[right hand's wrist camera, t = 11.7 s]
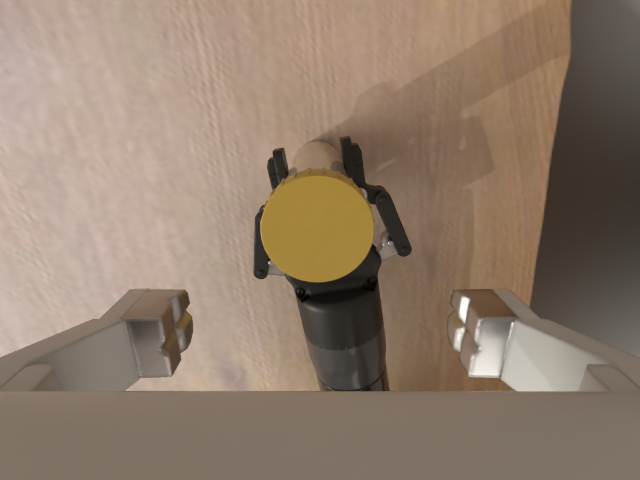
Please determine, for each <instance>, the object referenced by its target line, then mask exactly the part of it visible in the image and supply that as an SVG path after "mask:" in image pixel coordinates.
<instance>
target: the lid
mask: <svg viewBox="0 0 640 480" xmlns="http://www.w3.org/2000/svg"><path fill="white" fill-rule="evenodd" d="M263 210H264V211H263V215H262V218H261V221H260V223H261V239H262V242H263V246H264V248H265V250H266V253H267V254H268V256H269V258H270V259H271V260H272V261H273V263H274V264H275V265H276V266H277V267H278V268H279V269H281V270H282V271H283V272H285V273H286V274H288V275H290V276H292V277H294V278H296V279H299V280H303V281H308V282H327V281H332V280H335V279H339V278H341V277H343V276H345V275H347V274H349V273H350V272H352V271H353V270H354V269H356V268H357V267H358V266H359V265H360V264H361V263H362V261H363V260H364V259H365V257H366V256H367V254H368V252H369V250H370V248H371V246H372V242H373V238H374V222H375V221H374V218H373V215H372V212H371V205H370V203H369V202H368V200H366V199H365V197H364V193H363V191H362V189H361V188H358V187H357V185H356V184H355V183H354V182H353V180H352V178H350V179H349V178H347V177H346V176H344V175H342V174H340V171H337V172H335V171H332V170H328V169H325V167H323V169H319V168H315V169H311V167H309V168H308V169H307V170H302V171H300V172H297V171H295V172H294V174H293V175H291V176H289V177H288V178H286V179H284V178H283V179H282V181H281V183H280V184H279V185H278V186H277V188H276V189H273V190H272V192H271V194H270V199H269V201H267V202H266V203H265V205H264V207H263Z"/></svg>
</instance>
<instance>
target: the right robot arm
mask: <svg viewBox="0 0 640 480" xmlns="http://www.w3.org/2000/svg"><path fill="white" fill-rule="evenodd" d="M189 304H190V302H189V297H188V293H187V292H186V290H174V289H131V290H129V291H128V292H127V293H126V294H125V295H124V296H123V297H122V298H121V299H120V300H119V301H118V302H117V303H116V304H115V305H113V306H112V307H111V308H110V309H109V310H108V311H107V312H106V313H105V314H104V315H103V316H102V317H101V318H100V319H92V320H90V321H88V322H85V323H83V324H80V325H78V326H75V327H73V328H71V329H68V330H66V331H63V332H61V333H59V334H56V335H54V336H51V337H49V338H47V339H44V340H42V341H39V342H37V343H34V344H32V345H30V346H27V347H25V348H22V349H20V350H18V351H15V352H13V353H10V354H8V355H5V356H3V357H1V358H0V480H640V358H639V357H637V356H634V355H632V354H629V353H627V352H625V351H622V350H620V349H617V348H615V347H613V346H610V345H608V344H605V343H603V342H601V341H598V340H596V339H593V338H591V337H589V336H586V335H584V334H581V333H579V332H576V331H574V330H572V329H569V328H567V327H564V326H562V325H560V324H557V323H555V322H552V321H550V320H548V319H540V318H539V317H538V316H537V315H536V314H535V313H534V312H533V311H532V310H531V309H530V308H529V307H528V306H527V305H526V304H524V303H523V302H522V301H521V300H520V299H519V298H518V297H517V296H516V295H515V294H514V293H513V292H512V291H511V290H509V289H471V290H454V291H453V293H452V296H451V301H450V304H451V305H452V307H453V309H454V311H453V312H452V313H451V314H450V315H449V316H448V322H447V333H448V339H449V342H450V344H451V346H452V348H453V349H454V350H456V351H457V352H459V353H460V356H459V361H460V363H461V364H462V366H463V368H464V370H465V372H466V373H467V375H468V377H488V378H501V380H502V381H504V382H505V383H506V384H508V385H509V386H510V387H511V388H513V389H514V390H515V391H125V390H126V389H127V388H129V387H130V386H131V385H133V384H134V383H135V382H137V381H138V380H139V378H152V377H172V375H173V373H174V372H175V370H176V368H177V366H178V364H179V363H180V361H181V356H180V353H181V352H183V351H184V350H186V349H187V348H188V346H189V344H190V342H191V338H192V334H193V321H192V316H191V315H190V314H189V313H188V312H187V311H186V309H187V307H188V305H189Z"/></svg>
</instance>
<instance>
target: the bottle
mask: <svg viewBox="0 0 640 480" xmlns="http://www.w3.org/2000/svg"><path fill="white" fill-rule="evenodd" d="M309 167H311V169H315V168H319V169H323V167H325V169H328V170H332V171H335V172H337V171H340V174H342V175H344V176H346V177H347V178H348V176H347V173H346V171H345V168H344V166H343V163H342V161H341V159H340V156H339V154H338V152H337V151H336V149H335V148H334V147H333V146H331V145H330V144H328V143H326V142H323V141H312V142H309V143H307V144H305V145H304V146H302V147H301V148H300V149H299V151H298V152H297V154H296V156H295V159H294V161H293V164H292V166H291V169H290V171H289V173H288V176H287V178H288V177H289V176H291V175H293V174H294V172H295V171H297V172H300V171H302V170H307V169H308V168H309Z"/></svg>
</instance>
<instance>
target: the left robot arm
mask: <svg viewBox="0 0 640 480" xmlns="http://www.w3.org/2000/svg"><path fill="white" fill-rule="evenodd" d="M340 143H341V150H342V157H343V164H344V168H345V171H346V173H347V176H348V178H349V179H350V178H352V180H353V182H354V183H355V184H356V185H357V187H358V188H361V189H362V191H363V193H364V197H365V199H366V200H368V202H369V203H370V204H376V206H377V209H378V211H379V213H380V216H381V218H382V220H383V223H384V225H385V227H386V230H385V231H383V232H382V233H381V236H380V238H381V243H380V245H379V246H378V247H375V246H374V245H373V244H372V246H371V248H370V250H369V252H368V254H367V256H366V257H365V259H364V260H363V261H362V263H361V264H360V265H359V266H358V267H357V268H356V269H354V270H353V271H352V272H350V273H349V274H347V275H345V276H343V277H341V278H339V279H335V280H332V281H327V282H308V281H303V280H299V279H296V278H294V277H292V276H290V275H288V274H286V273H285V272H283V271H282V270H281V269H279V268H278V267H277V266H276V265H275V264H274V263H273V261H272V260H271V259H270V258H269V256H268V254H267V253H266V250H265V248H264V246H263V242H262V239H261V223H260V221H261V218H262V215H263V211H264V210H263V207H264V205H263V206H261V208H260V210H259V212H258V214H257V215H256V217H255V237H254V276H255V277H256V278H258V279H264V278H266V277H267V275H268V274H270V275H282V276H286V279H287V280H288V281H289V282H290V283H291V284H292V286H293V287H294V290H295V294H296V298H297V302H298V307H299V311H300V315H301V319H302V324H303V328H304V333H305V337H306V341H307V346H308V350H309V354H310V357H311V360H312V362H313V365H314V367H315V370H316V373H317V378H318V382H319V386H320V391H390V388H389V382H388V374H387V367H386V339H385V331H384V323H383V315H382V307H381V300H380V292H379V284H378V270H379V268H380V266H381V262H382V260H384V259H386V258H388V257H391V256H393V255H396V254H399V255H400V256H403V257H405V256H408V255H409V254H410V253H411V250H412V248H411V245H410V243H409V241H408V238H407V236H406V233H405V231H404V228H403V226H402V223H401V221H400V219H399V216H398V214H397V211H396V209H395V206H394V204H393V201H392V199H391V197H390V195H389V194H388V192H387V191H386V190H385V188H384V187H383V186H380V185H378V186H373V185H369V184H367V183H365V177H364V169H363V162H362V154H361V150H360V148H359V146H358V144H357V143H351V140H350V137H349V136H346V137H340ZM267 169H268V173H269V177H270V182H271V186H272V190H273V189H276V188H277V186H278V185H279V184H280V183H281V181H282V179H283V178H284V179H286V178H287V176H288V173H289V169H288V165H287V160H286V155H285V151H284V148H279V149H275V150H274V151H273V157H272V158H270V159H269V160H268V165H267Z"/></svg>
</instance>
